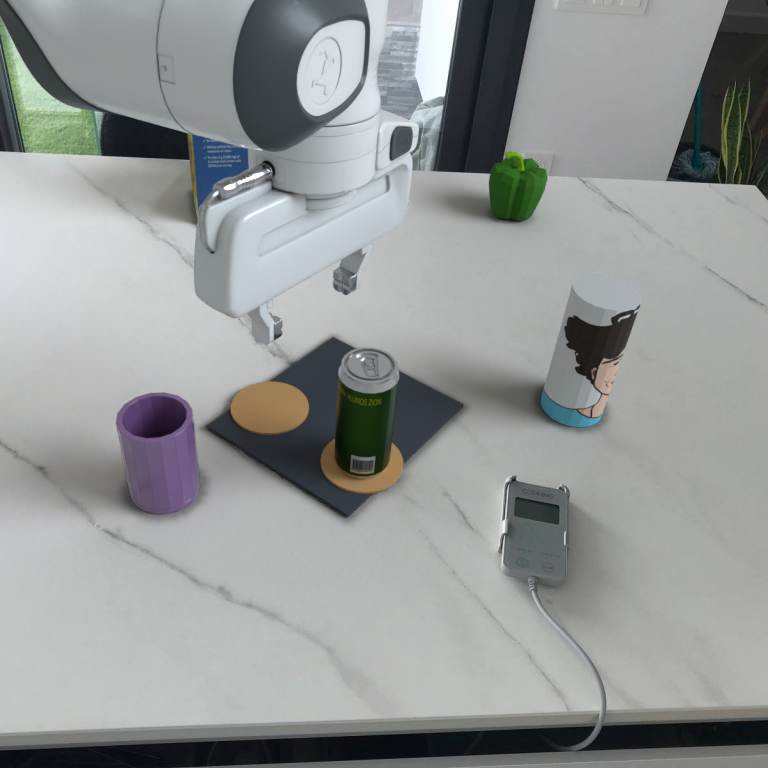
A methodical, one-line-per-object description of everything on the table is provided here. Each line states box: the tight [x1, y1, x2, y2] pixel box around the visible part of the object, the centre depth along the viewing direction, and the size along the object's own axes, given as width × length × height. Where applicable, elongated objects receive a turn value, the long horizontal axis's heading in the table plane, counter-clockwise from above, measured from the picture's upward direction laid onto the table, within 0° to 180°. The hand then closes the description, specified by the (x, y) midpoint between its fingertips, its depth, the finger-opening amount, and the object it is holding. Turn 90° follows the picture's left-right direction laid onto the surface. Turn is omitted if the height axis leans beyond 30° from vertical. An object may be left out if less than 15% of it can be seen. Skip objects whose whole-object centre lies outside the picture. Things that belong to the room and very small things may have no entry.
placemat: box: [206, 336, 465, 518], centre depth 80 cm, size 20×20×1 cm
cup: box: [540, 271, 644, 428], centre depth 80 cm, size 7×7×15 cm
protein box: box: [186, 133, 249, 221], centre depth 109 cm, size 10×15×16 cm
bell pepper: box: [488, 150, 548, 222], centre depth 115 cm, size 8×8×10 cm
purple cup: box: [115, 391, 201, 515], centre depth 68 cm, size 6×6×9 cm
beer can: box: [334, 346, 400, 480], centre depth 71 cm, size 5×5×12 cm
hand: (308, 312), depth 62 cm, fingers open, 8 cm apart
